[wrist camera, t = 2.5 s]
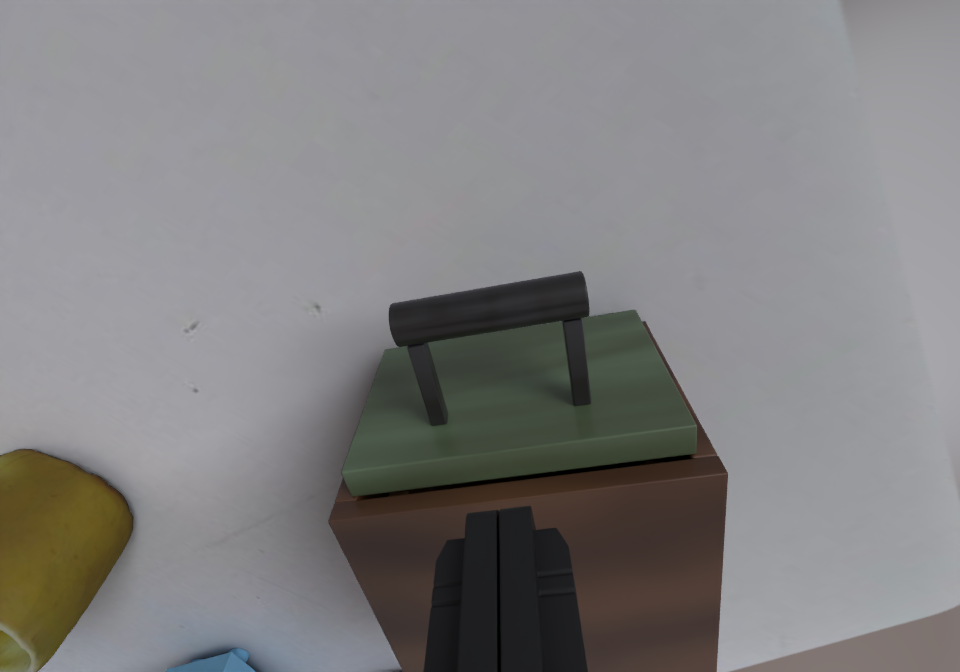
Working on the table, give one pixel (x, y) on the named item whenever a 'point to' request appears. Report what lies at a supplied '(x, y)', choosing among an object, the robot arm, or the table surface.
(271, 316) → the table surface
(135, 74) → the table surface
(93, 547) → the mug
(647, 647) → the cabinet
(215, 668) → the light blue peg cube
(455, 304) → the drawer
